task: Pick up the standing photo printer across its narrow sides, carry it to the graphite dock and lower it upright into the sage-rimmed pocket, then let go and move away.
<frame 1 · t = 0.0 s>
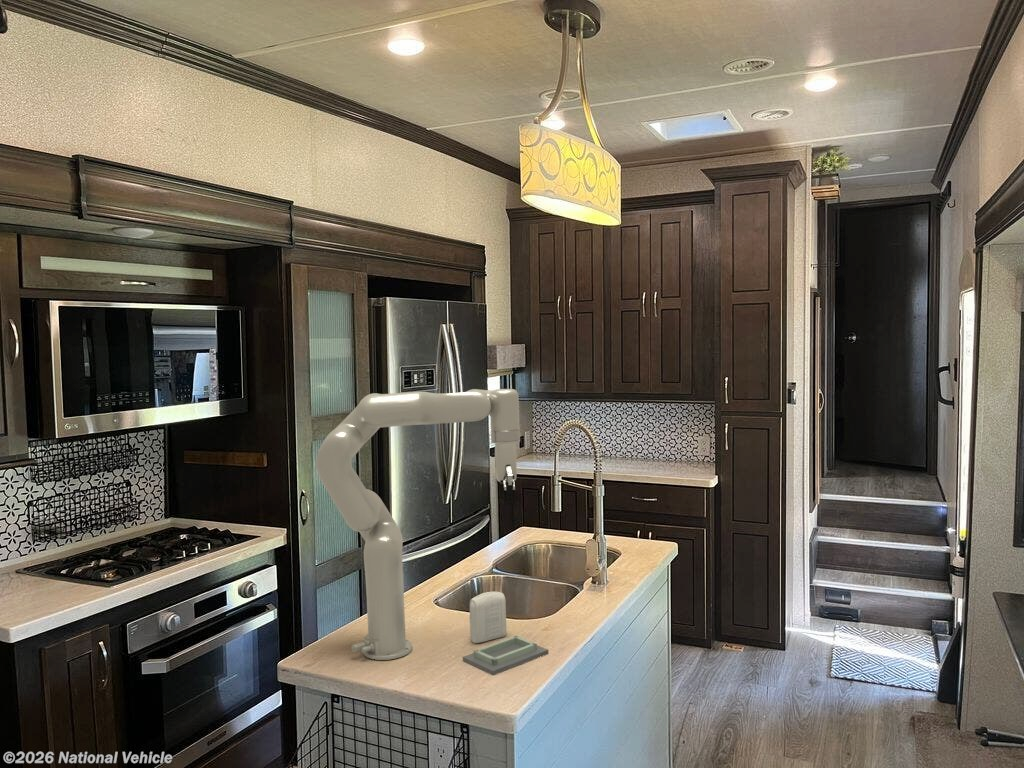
hand: (507, 501, 204), 37 cm above the counter, tool pointing down, fingers open, 9 cm apart
dock: (505, 657, 196), on the counter
photo printer: (488, 639, 209), on the counter
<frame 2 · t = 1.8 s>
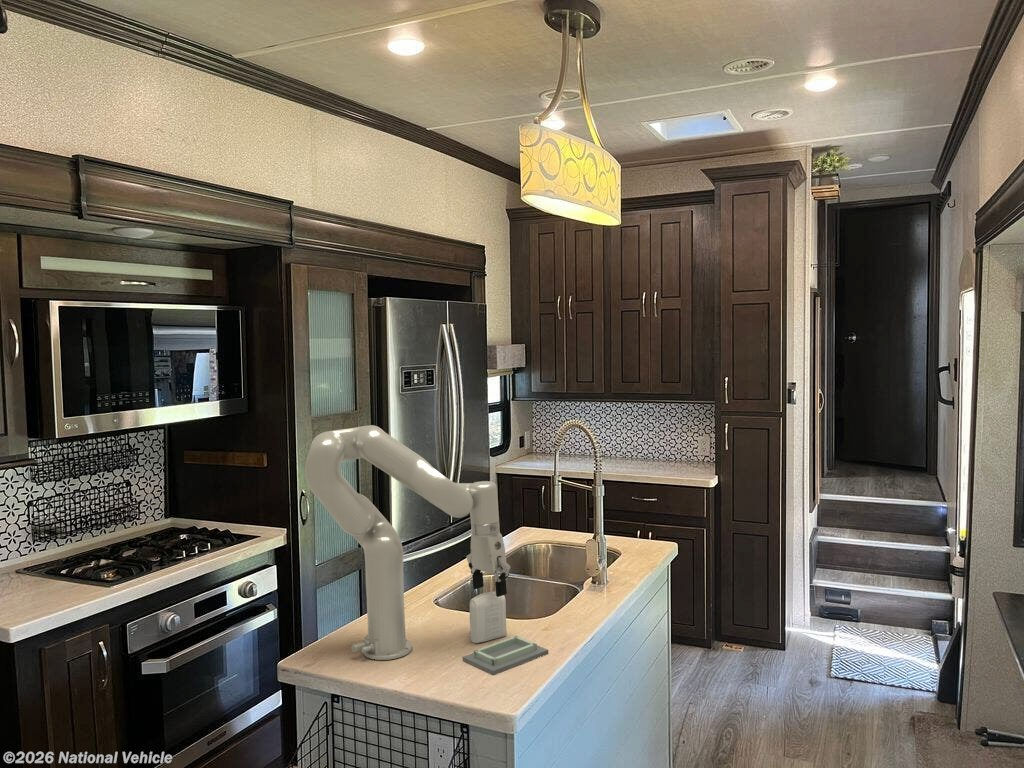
hand: (489, 591, 209), 13 cm above the counter, tool pointing down, fingers open, 9 cm apart
nothing on the counter moved.
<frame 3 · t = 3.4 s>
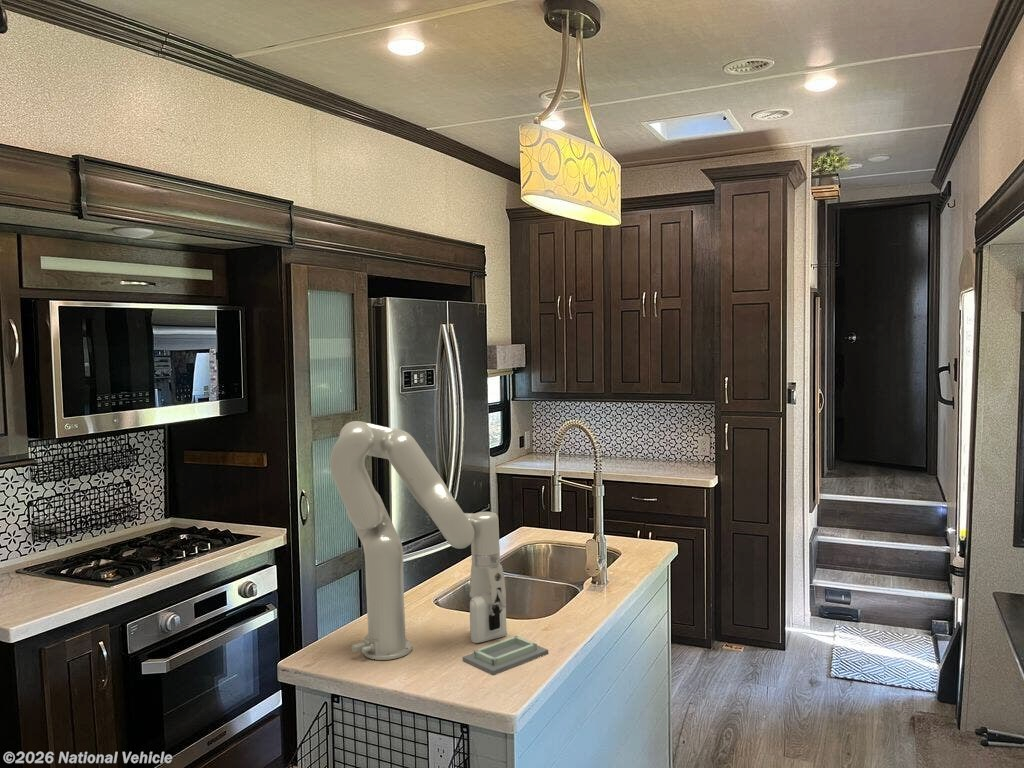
hand: (488, 625, 209), 3 cm above the counter, tool pointing down, fingers closed on photo printer, 4 cm apart
photo printer: (488, 639, 209), on the counter, touching gripper
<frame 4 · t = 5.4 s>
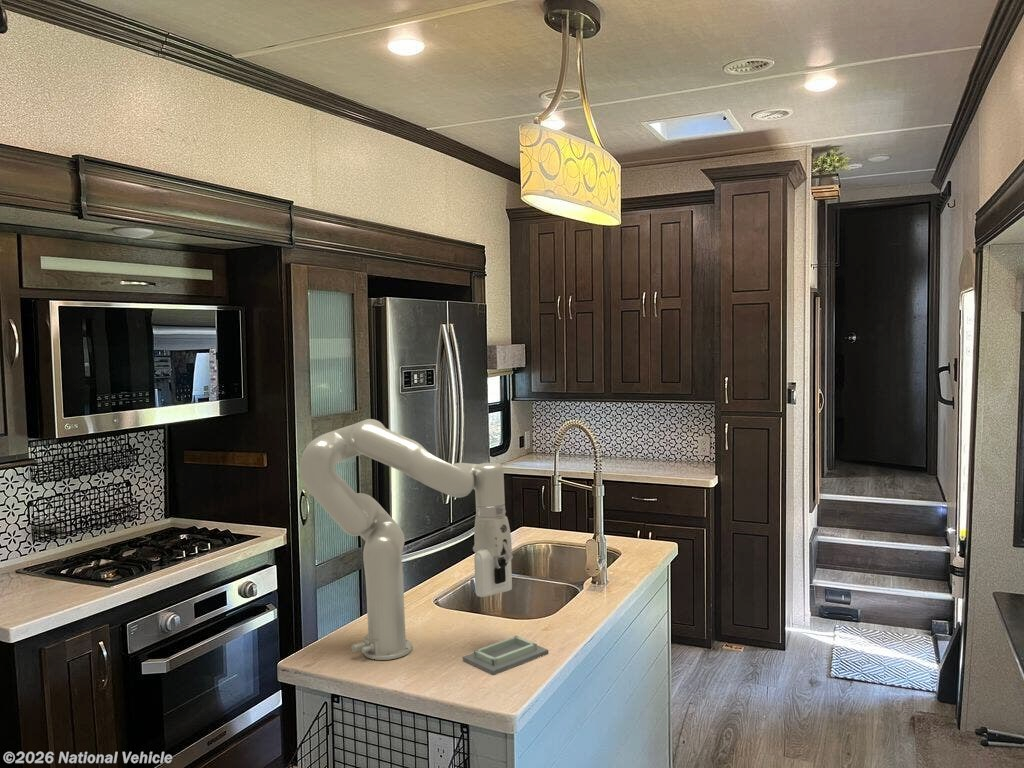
hand: (493, 579, 203), 17 cm above the counter, tool pointing down, fingers closed on photo printer, 4 cm apart
photo printer: (494, 593, 204), point 14 cm above the counter, touching gripper
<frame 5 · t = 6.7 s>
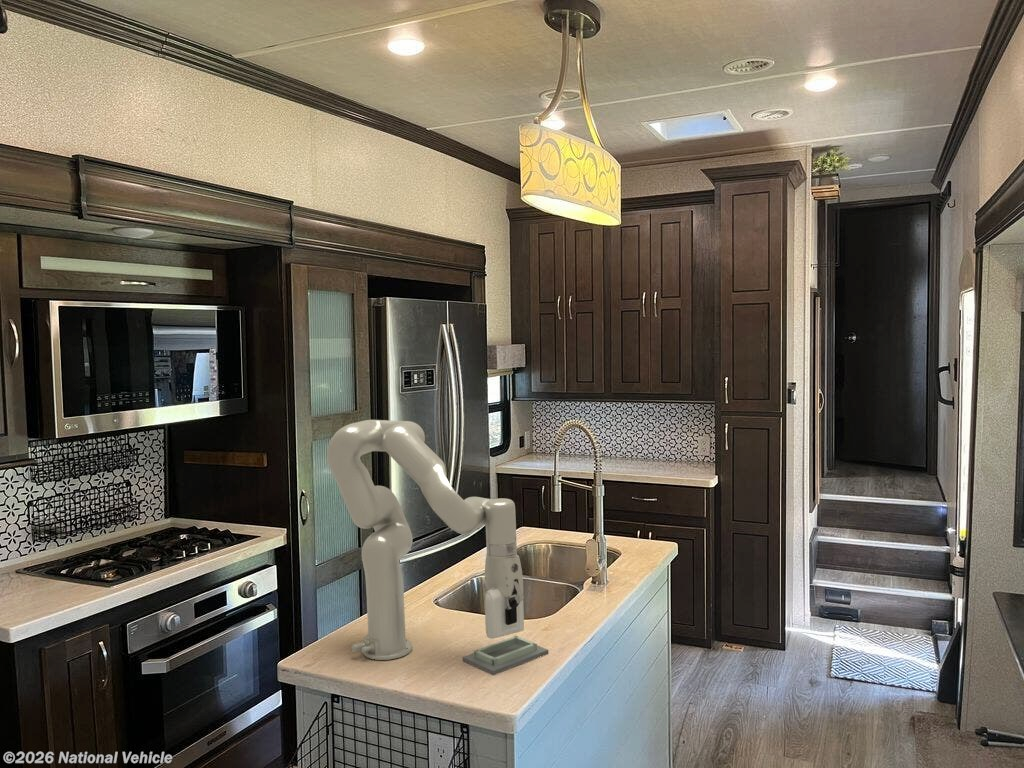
hand: (504, 620, 196), 9 cm above the counter, tool pointing down, fingers closed on photo printer, 4 cm apart
photo printer: (505, 634, 196), point 6 cm above the counter, touching gripper
when the fingers open (5 cm above the counter, at t = 7.8 s): photo printer stays where it is, resting on dock.
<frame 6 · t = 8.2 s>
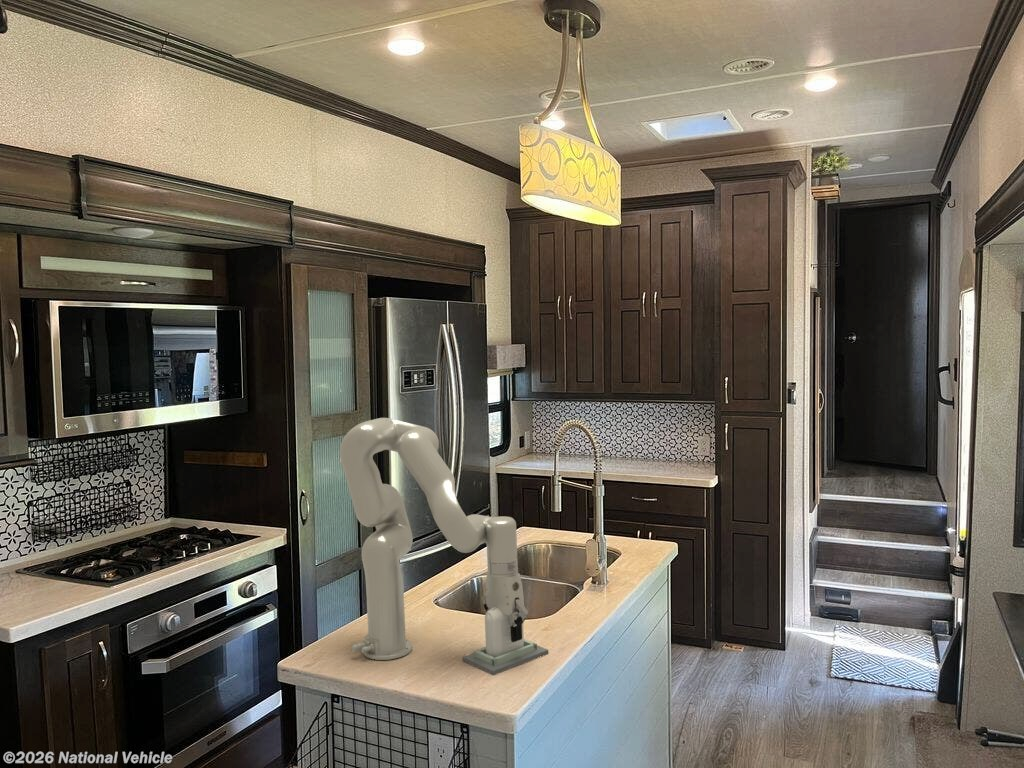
hand: (505, 635, 196), 6 cm above the counter, tool pointing down, fingers open, 8 cm apart
photo printer: (505, 654, 196), point 1 cm above the counter, touching dock
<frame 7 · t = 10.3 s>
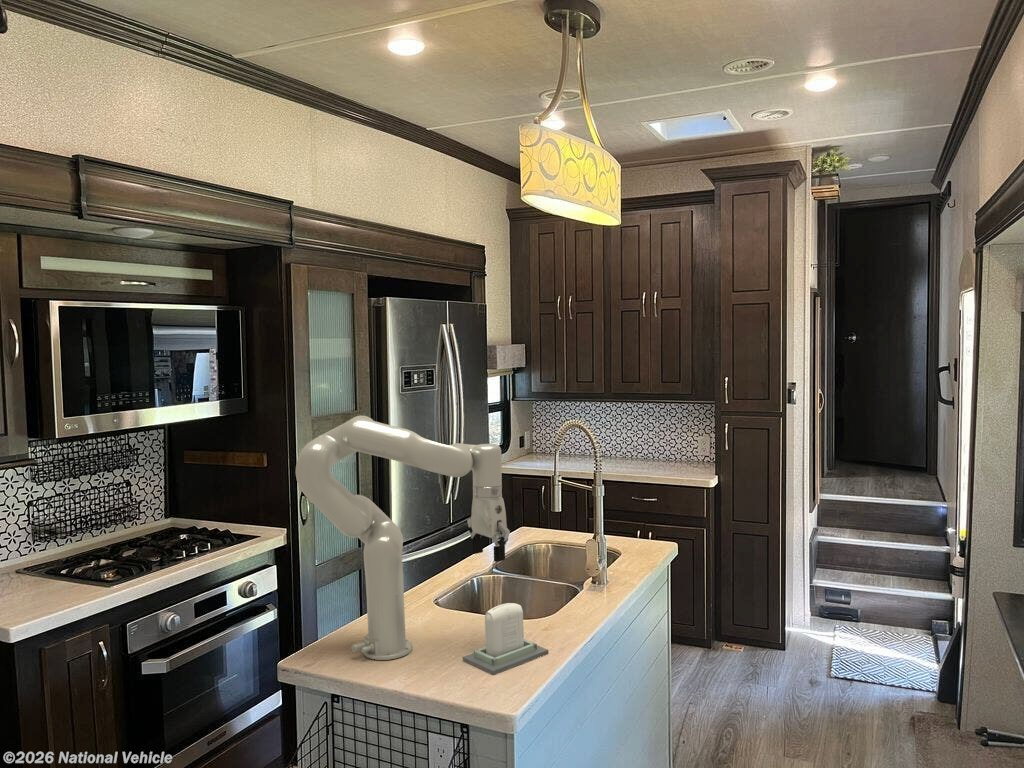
hand: (488, 556, 204), 23 cm above the counter, tool pointing down, fingers open, 9 cm apart
nothing on the counter moved.
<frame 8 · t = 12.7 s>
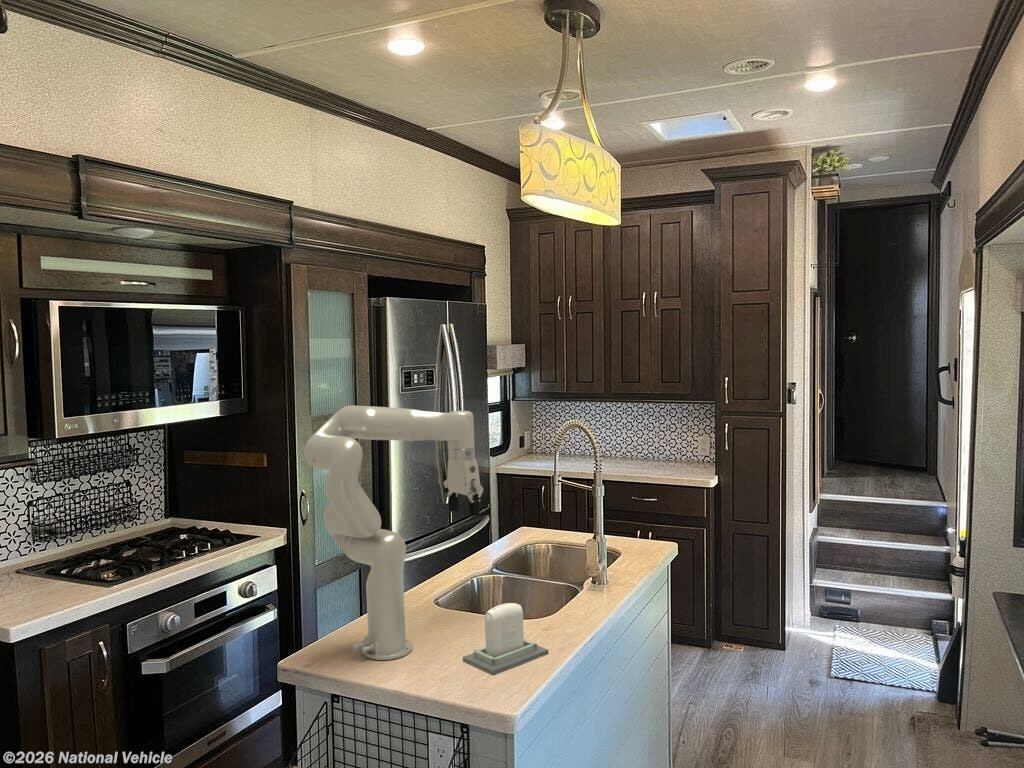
hand: (463, 513, 225), 30 cm above the counter, tool pointing down, fingers open, 9 cm apart
nothing on the counter moved.
at the end: photo printer 0.1 cm off-centre on the dock, point 0.8 cm above the dock's base; photo printer tilted 0°; the gripper is holding nothing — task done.
